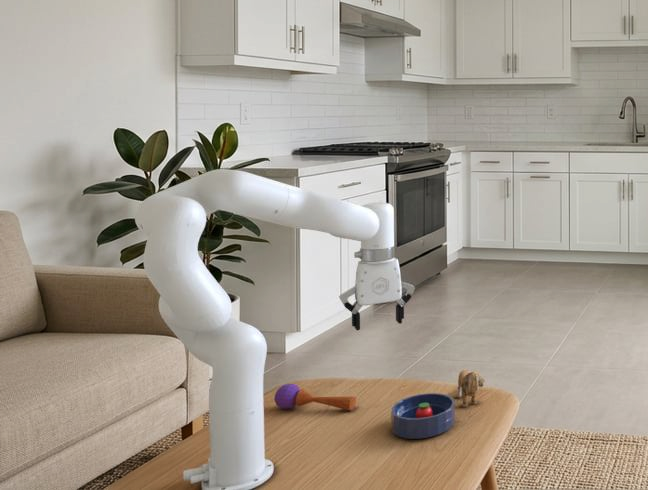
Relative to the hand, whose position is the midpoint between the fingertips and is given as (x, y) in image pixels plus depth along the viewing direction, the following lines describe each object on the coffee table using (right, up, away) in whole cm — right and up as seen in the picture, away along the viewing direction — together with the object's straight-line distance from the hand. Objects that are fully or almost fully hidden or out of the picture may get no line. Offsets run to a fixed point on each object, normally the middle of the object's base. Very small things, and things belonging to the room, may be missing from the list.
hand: (378, 325), depth 160 cm
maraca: (-19, -23, +7) cm, 30 cm away
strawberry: (+12, -22, -3) cm, 26 cm away
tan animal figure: (+19, -23, +11) cm, 32 cm away
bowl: (+12, -23, -3) cm, 26 cm away
